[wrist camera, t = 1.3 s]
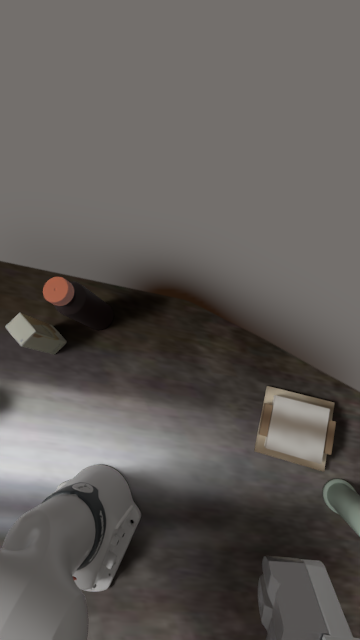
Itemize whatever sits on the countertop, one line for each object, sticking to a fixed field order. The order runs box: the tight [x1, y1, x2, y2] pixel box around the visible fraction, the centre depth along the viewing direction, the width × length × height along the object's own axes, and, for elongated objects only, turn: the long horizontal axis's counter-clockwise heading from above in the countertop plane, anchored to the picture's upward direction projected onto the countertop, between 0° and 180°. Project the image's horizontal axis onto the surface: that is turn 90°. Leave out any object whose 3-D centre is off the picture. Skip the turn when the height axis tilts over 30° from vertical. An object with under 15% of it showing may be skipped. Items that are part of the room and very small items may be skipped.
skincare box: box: [5, 313, 67, 354], centre depth 68 cm, size 6×4×12 cm
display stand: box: [254, 386, 336, 471], centre depth 60 cm, size 13×13×4 cm
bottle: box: [43, 277, 114, 330], centre depth 64 cm, size 7×7×20 cm
